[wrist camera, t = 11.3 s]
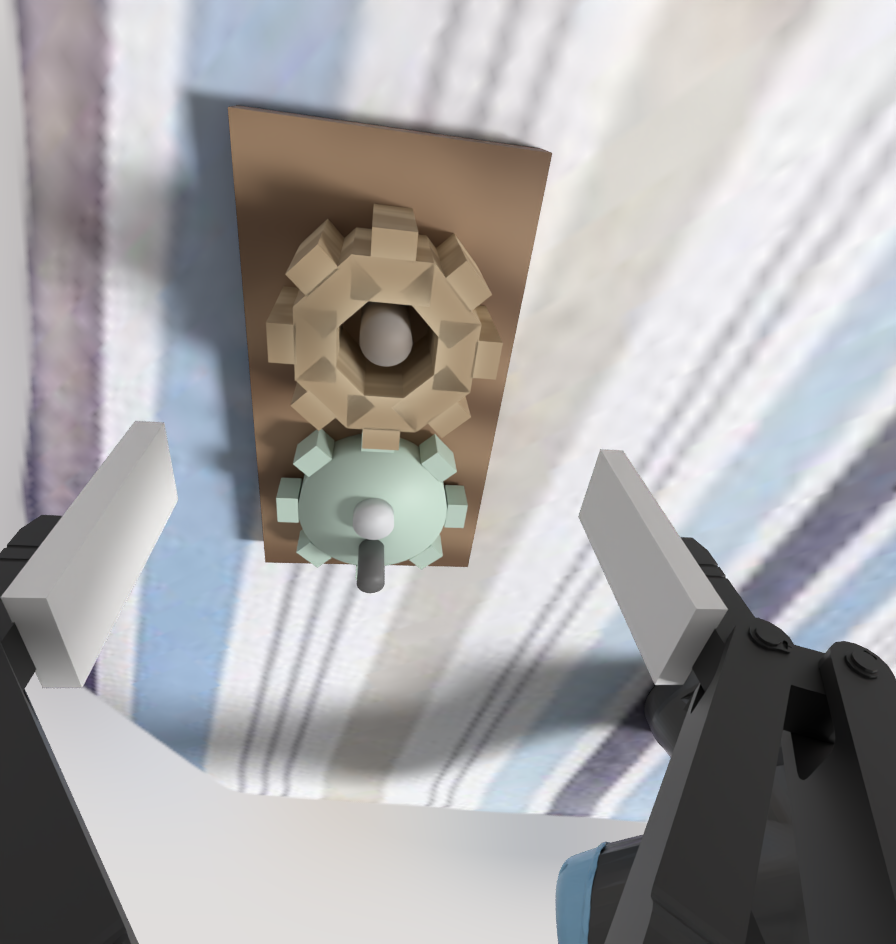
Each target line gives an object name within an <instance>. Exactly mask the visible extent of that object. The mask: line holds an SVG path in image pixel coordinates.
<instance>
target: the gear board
mask: <svg viewBox="0 0 896 944" xmlns="http://www.w3.org/2000/svg"><path fill="white" fill-rule="evenodd" d="M228 116H229V128H230V140H231V153H232V165H233V177H234V189H235V201H236V213H237V225H238V237H239V249H240V261H241V273H242V285H243V297H244V309H245V321H246V333H247V345H248V357H249V370H250V382H251V394H252V406H253V418H254V430H255V442H256V454H257V466H258V478H259V490H260V502H261V514H262V526H263V538H264V550H265V562H272V563H310V562H309V561H308V560H306V559H305V558H303V557H302V556H301V555H299V554H298V553H296V551H297V546H298V540H299V535H300V531H301V530H302V529H303V528H302V526H301V523H300V520H299V523H295V522H278V519H277V503H276V497H277V493H278V489H279V485H280V481H281V478H302V483H303V479H304V475H305V474H304V473H303V472H302V471H301V470H300V469H298V468H297V467H296V466H295V465H294V464H293V461H294V457H295V453H296V448H297V444H299V443H300V442H301V441H303V440H304V439H305V438H306V437H308V436H309V435H310V434H311V433H313V432H314V431H315V430H316V428H315V427H314V426H313V425H312V424H310V423H309V422H308V421H307V420H306V419H305V418H304V417H303V416H301V415H300V414H299V413H298V412H297V411H296V410H295V409H294V408H292V407H291V406H290V405H291V402H292V398H293V394H294V391H295V387H296V384H297V381H295V367H294V364H283V363H270V362H268V346H267V330H266V321H267V319H268V317H269V315H270V313H271V311H272V309H273V307H274V305H275V303H276V301H277V299H278V297H279V295H280V292H281V290H282V288H283V286H284V287H294V288H298V287H297V286H296V285H295V284H294V283H293V282H292V281H291V280H290V279H289V278H288V277H287V276H286V272H287V270H288V268H289V266H290V264H291V262H292V260H293V258H294V256H295V254H296V252H297V250H298V248H299V246H300V244H301V243H302V242H303V241H304V240H305V239H306V238H307V237H309V236H310V235H311V234H312V233H313V232H314V231H315V230H316V229H317V228H318V227H319V226H320V225H321V224H322V223H324V222H325V221H326V220H327V219H329V220H330V222H331V223H332V224H333V225H334V226H335V228H336V229H337V230H338V231H339V232H340V233H341V235H342V236H343V237H344V238H345V237H346V236H347V235H348V234H350V233H351V232H352V231H353V230H354V229H355V228H356V227H357V228H366V229H372V221H373V207H374V204H379V205H388V206H396V207H404V208H412V209H413V212H414V216H415V220H416V224H417V229H418V234H419V235H426V236H427V237H428V238H429V240H430V241H431V242H432V244H433V245H434V246H435V248H437V247H438V246H439V245H441V244H442V243H443V242H444V241H445V240H446V239H448V238H449V237H450V236H451V235H452V234H455V235H456V237H457V238H458V239H459V241H460V242H461V244H462V245H463V246H464V248H465V249H466V250H467V252H468V253H469V255H470V256H471V257H472V259H473V260H474V261H475V263H476V265H477V267H478V268H479V270H480V272H481V274H482V276H483V278H484V280H485V282H486V284H487V286H488V288H489V290H490V292H491V294H492V295H491V296H490V297H489V298H487V299H486V300H485V301H484V302H482V303H481V304H480V305H481V306H486V308H487V310H488V312H489V314H490V316H491V318H492V320H493V323H494V325H495V327H496V329H497V331H498V333H499V336H500V338H501V340H502V342H503V345H502V350H501V355H500V361H499V366H498V371H497V376H496V380H495V379H481V378H473V379H472V385H471V391H470V393H469V394H468V395H466V400H467V404H468V408H469V411H470V415H471V418H469V419H468V420H467V421H465V422H464V423H462V424H461V425H460V426H458V427H457V428H455V429H454V430H453V431H451V432H450V433H448V434H447V435H446V436H444V437H443V438H441V437H440V436H439V435H438V434H437V432H436V431H435V430H434V429H433V428H432V427H431V426H430V425H429V424H427V425H425V426H424V427H422V428H421V429H420V430H418V431H417V432H402V431H400V438H402V439H405V440H408V441H410V442H412V443H414V444H415V445H417V446H418V447H419V445H420V444H421V443H423V442H424V441H426V440H427V439H428V438H430V437H431V436H433V435H434V434H436V436H437V437H438V438H439V439H440V440H441V441H442V442H443V443H444V444H445V445H446V446H447V447H448V448H449V449H450V450H451V451H452V452H453V454H454V459H455V465H456V470H457V472H456V473H455V474H453V475H452V476H450V477H449V478H447V479H446V480H444V481H443V483H444V489H445V485H458V486H464V489H465V494H466V499H467V504H468V507H467V512H466V518H465V523H464V528H446V527H444V526H443V528H442V531H441V532H440V534H439V535H440V537H441V545H442V553H443V556H442V557H441V558H439V559H438V560H436V561H434V562H433V563H431V564H430V565H428V566H453V567H468V563H469V558H470V553H471V548H472V544H473V539H474V534H475V529H476V524H477V519H478V514H479V509H480V504H481V499H482V495H483V490H484V485H485V480H486V475H487V470H488V465H489V460H490V455H491V450H492V446H493V441H494V436H495V431H496V426H497V421H498V416H499V411H500V406H501V402H502V397H503V392H504V387H505V382H506V377H507V372H508V367H509V362H510V357H511V353H512V348H513V343H514V338H515V333H516V328H517V323H518V318H519V313H520V308H521V304H522V299H523V294H524V289H525V284H526V279H527V274H528V269H529V264H530V259H531V255H532V250H533V245H534V240H535V235H536V230H537V225H538V220H539V215H540V210H541V206H542V201H543V196H544V191H545V186H546V181H547V176H548V171H549V166H550V161H551V157H552V153H551V152H548V151H546V150H543V149H540V148H533V147H526V146H519V145H512V144H505V143H498V142H491V141H484V140H477V139H470V138H463V137H456V136H449V135H442V134H435V133H428V132H421V131H414V130H407V129H400V128H393V127H386V126H379V125H372V124H365V123H358V122H351V121H344V120H337V119H330V118H323V117H316V116H309V115H302V114H295V113H288V112H281V111H274V110H267V109H260V108H253V107H246V106H239V105H237V106H231V107H228ZM343 328H344V329H345V330H346V331H347V332H348V333H349V334H350V335H351V337H352V338H353V339H354V340H355V341H356V342H357V343H358V344H359V345H360V348H361V350H362V353H363V354H364V356H365V357H366V358H367V359H368V360H369V361H371V362H372V363H374V364H376V365H379V366H394V365H397V364H399V363H401V362H402V361H404V360H405V359H406V358H407V356H408V355H409V353H410V351H411V348H412V346H413V345H414V344H415V343H417V342H418V341H419V340H420V339H422V338H423V337H424V336H425V335H427V328H428V324H427V323H426V321H425V320H424V319H423V318H422V317H421V315H420V314H419V313H418V312H417V311H416V309H415V308H414V307H413V306H412V305H403V304H393V303H382V302H372V301H368V302H367V303H366V304H365V305H363V306H362V307H361V308H360V309H359V310H357V311H356V312H355V313H354V314H353V315H352V316H350V317H349V318H348V319H347V320H346V321H345V322H343ZM322 430H324V431H325V432H326V433H327V434H328V435H329V436H330V437H331V438H332V439H334V440H335V441H334V442H336V441H338V440H340V439H343V438H346V437H349V436H353V435H358V434H362V429H351V428H346V427H345V426H344V425H343V424H342V423H341V422H340V421H338V420H337V419H336V418H335V419H333V420H332V421H331V422H330V423H328V424H327V425H326V426H324V427H323V428H322ZM323 564H349V563H345V562H342V561H339V560H337V559H334V558H332V557H331V559H329V560H328V561H326V562H325V563H323ZM392 565H408V566H416V565H415V564H414V563H412V562H411V561H410V559H408V560H406V561H403V562H400V563H396V564H392Z"/></svg>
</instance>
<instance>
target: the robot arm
mask: <svg viewBox="0 0 896 944" xmlns="http://www.w3.org/2000/svg"><path fill="white" fill-rule="evenodd" d="M177 501H178V496H177V490H176V485H175V480H174V474H173V469H172V463H171V458H170V452H169V447H168V441H167V436H166V430H165V425H164V423H161V422H145V421H135V422H134V423H133V425H132V426H131V427H130V428H129V430H128V431H127V432H126V434H125V435H124V436H123V438H122V439H121V440H120V442H119V443H118V444H117V445H116V447H115V448H114V449H113V451H112V452H111V453H110V455H109V456H108V457H107V459H106V460H105V461H104V463H103V464H102V465H101V466H100V468H99V469H98V470H97V472H96V473H95V474H94V476H93V477H92V478H91V480H90V481H89V482H88V483H87V485H86V486H85V487H84V489H83V490H82V491H81V493H80V494H79V495H78V497H77V498H76V499H75V501H74V502H73V503H72V504H71V506H70V507H69V508H68V510H67V511H66V512H65V514H64V515H63V516H54V515H41V516H40V517H38V518H36V519H35V520H33V521H32V522H30V523H29V524H27V525H26V526H24V527H23V528H21V529H20V530H19V531H18V532H17V534H16V535H15V536H14V537H13V538H12V540H11V541H10V542H9V543H8V544H7V548H4V549H3V550H2V551H1V553H0V944H139V943H138V941H137V939H136V937H135V935H134V932H133V930H132V928H131V926H130V923H129V921H128V919H127V917H126V914H125V912H124V910H123V908H122V905H121V903H120V901H119V899H118V897H117V894H116V892H115V890H114V887H113V885H112V883H111V881H110V879H109V876H108V874H107V872H106V870H105V867H104V865H103V863H102V861H101V858H100V856H99V854H98V852H97V849H96V847H95V845H94V843H93V841H92V838H91V836H90V834H89V832H88V829H87V827H86V825H85V823H84V820H83V818H82V816H81V814H80V811H79V809H78V807H77V805H76V803H75V801H74V798H73V796H72V794H71V791H70V789H69V787H68V785H67V782H66V780H65V778H64V776H63V773H62V772H61V769H60V767H59V764H58V762H57V760H56V758H55V756H54V753H53V751H52V749H51V747H50V744H49V742H48V740H47V738H46V735H45V733H44V731H43V729H42V726H41V724H40V722H39V720H38V717H37V715H36V713H35V711H34V708H33V706H32V704H31V702H30V700H29V697H28V695H27V693H26V691H25V687H26V685H27V683H28V682H29V680H30V679H31V677H32V676H33V674H34V672H36V675H37V677H38V679H39V681H40V683H41V685H42V688H82V687H83V685H84V683H85V681H86V679H87V677H88V675H89V673H90V672H91V670H92V668H93V666H94V664H95V662H96V660H97V658H98V656H99V654H100V652H101V650H102V648H103V646H104V644H105V642H106V640H107V638H108V636H109V634H110V632H111V630H112V628H113V626H114V624H115V623H116V621H117V619H118V617H119V615H120V613H121V611H122V609H123V607H124V605H125V603H126V601H127V599H128V597H129V595H130V593H131V591H132V589H133V587H134V585H135V583H136V581H137V579H138V577H139V575H140V574H141V572H142V570H143V568H144V566H145V564H146V562H147V560H148V558H149V556H150V554H151V552H152V550H153V548H154V546H155V544H156V542H157V540H158V538H159V536H160V534H161V532H162V530H163V528H164V526H165V525H166V523H167V521H168V519H169V517H170V515H171V513H172V511H173V509H174V507H175V505H176V503H177ZM578 517H579V519H580V521H581V523H582V526H583V528H584V530H585V532H586V534H587V537H588V539H589V541H590V543H591V545H592V548H593V550H594V552H595V554H596V556H597V559H598V561H599V563H600V565H601V567H602V570H603V572H604V574H605V576H606V579H607V581H608V583H609V585H610V587H611V590H612V592H613V594H614V596H615V598H616V601H617V603H618V605H619V607H620V609H621V612H622V614H623V616H624V618H625V620H626V623H627V625H628V627H629V629H630V631H631V634H632V636H633V638H634V640H635V642H636V645H637V647H638V649H639V651H640V653H641V656H642V658H643V660H644V662H645V664H646V667H647V669H648V671H649V673H650V675H651V678H652V680H653V682H654V684H655V685H656V686H655V687H654V688H653V689H652V691H651V692H650V694H649V695H648V697H647V699H646V702H645V706H644V713H645V717H646V719H647V722H648V724H649V727H650V729H651V731H652V734H653V736H654V737H655V739H656V741H657V742H658V743H659V744H660V745H661V746H662V747H663V748H664V749H665V751H666V752H667V753H668V755H669V756H670V757H671V759H670V762H669V764H668V767H667V770H666V773H665V776H664V778H663V781H662V784H661V787H660V790H659V792H658V795H657V798H656V801H655V803H654V806H653V809H652V812H651V815H650V817H649V820H648V823H647V826H646V829H645V832H644V834H643V835H640V836H636V837H632V838H628V839H624V840H620V841H616V842H612V843H610V842H603V843H602V844H600V845H599V846H598V847H597V848H594V849H591V850H588V851H585V852H582V853H579V854H576V855H574V856H571V857H570V858H568V859H567V860H566V861H565V862H564V864H563V865H562V867H561V870H560V872H559V876H558V880H557V886H556V924H557V936H558V944H896V679H895V676H894V675H893V673H892V671H891V670H890V668H889V666H888V665H887V664H886V663H885V662H884V661H883V660H882V659H881V658H880V657H878V656H877V655H875V654H874V653H872V652H871V651H870V650H868V649H866V648H864V647H862V646H859V645H857V644H855V643H850V642H846V641H841V642H835V643H834V644H833V645H832V646H831V647H830V648H829V649H828V651H827V652H826V653H822V652H818V651H815V650H811V649H807V648H804V647H800V646H796V645H794V644H793V642H792V641H791V639H790V637H789V636H788V635H786V634H785V633H784V632H783V631H782V630H781V629H780V628H778V627H777V626H775V625H773V624H772V623H770V622H768V621H765V620H762V619H760V618H755V617H754V615H753V614H752V613H751V611H750V610H749V608H748V607H747V606H746V604H745V603H744V601H743V600H742V598H741V597H740V596H739V594H738V593H737V591H736V590H735V588H734V587H733V586H732V584H731V583H730V581H729V580H728V579H726V578H725V574H724V573H723V571H722V570H721V569H720V567H718V566H717V565H718V564H717V563H716V561H715V560H714V559H713V557H712V556H711V554H710V553H709V551H708V550H707V549H705V548H704V547H703V546H702V545H701V544H699V543H698V542H697V541H696V540H694V539H693V538H684V537H680V536H679V535H678V533H677V532H676V530H675V529H674V527H673V526H672V524H671V523H670V521H669V520H668V518H667V516H666V515H665V513H664V512H663V510H662V509H661V507H660V506H659V504H658V503H657V501H656V500H655V498H654V497H653V495H652V494H651V492H650V491H649V489H648V488H647V486H646V485H645V483H644V482H643V480H642V479H641V477H640V476H639V474H638V473H637V471H636V470H635V468H634V467H633V465H632V464H631V462H630V461H629V459H628V458H627V456H626V455H625V453H624V452H623V451H620V450H604V449H600V452H599V455H598V458H597V461H596V464H595V467H594V470H593V473H592V476H591V479H590V482H589V485H588V489H587V492H586V495H585V498H584V501H583V504H582V507H581V510H580V513H579V516H578Z"/></svg>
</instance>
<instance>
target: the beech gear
mask: <svg viewBox="0 0 896 944" xmlns="http://www.w3.org/2000/svg"><path fill="white" fill-rule="evenodd" d="M286 276H287V277H288V278H289V279H290V280H291V281H292V282H293V283H294V284H295V285H296V286H297V287H298V288H294V287H284V286H283V288H282V290H281V292H280V295H279V297H278V299H277V301H276V303H275V305H274V307H273V309H272V311H271V313H270V315H269V317H268V319H267V321H266V330H267V346H268V362H270V363H283V364H294V367H295V381H297V384H296V387H295V391H294V394H293V398H292V402H291V405H290V406H291V407H292V408H294V409H295V410H296V411H297V412H298V413H299V414H300V415H301V416H303V417H304V418H305V419H306V420H307V421H308V422H309V423H310V424H312V425H313V426H314V427H315V428H316V429H317V430H318V431H319V430H321V429H322V428H323V427H324V426H326V425H327V424H328V423H330V422H331V421H332V420H333V419H335V418H336V419H337V420H338V421H340V422H341V423H342V424H343V425H344V426H345V427H346V428H351V429H363V436H362V448H363V449H381V450H399V440H400V431H402V432H417V431H418V430H420V429H421V428H422V427H424V426H425V425H427V424H429V425H430V426H431V427H432V428H433V429H434V430H435V431H436V432H437V434H438V435H439V436H440V437H441V438H443V437H444V436H446V435H447V434H448V433H450V432H451V431H453V430H454V429H455V428H457V427H458V426H460V425H461V424H462V423H464V422H465V421H467V420H468V419H469V418H471V415H470V411H469V408H468V404H467V400H466V395H468V394H469V393H470V391H471V385H472V379H473V378H481V379H495V380H496V376H497V371H498V366H499V361H500V355H501V350H502V345H503V342H502V340H501V338H500V336H499V333H498V331H497V329H496V327H495V325H494V323H493V320H492V318H491V316H490V314H489V312H488V310H487V308H486V306H481V305H480V304H481V303H482V302H484V301H485V300H486V299H487V298H489V297H490V296H491V295H492V294H491V292H490V290H489V288H488V286H487V284H486V282H485V280H484V278H483V276H482V274H481V272H480V270H479V268H478V267H477V265H476V263H475V261H474V260H473V259H472V257H471V256H470V255H469V253H468V252H467V250H466V249H465V248H464V246H463V245H462V244H461V242H460V241H459V239H458V238H457V237H456V235H455V234H452V235H451V236H450V237H449V238H448V239H446V240H445V241H444V242H443V243H442V244H441V245H439V246H438V247H437V248H435V246H434V245H433V244H432V242H431V241H430V240H429V238H428V237H427V236H426V235H419V234H418V229H417V224H416V220H415V216H414V212H413V209H412V208H404V207H396V206H388V205H379V204H374V207H373V221H372V229H366V228H357V227H356V228H355V229H354V230H353V231H352V232H351V233H350V234H348V235H347V236H346V237H345V238H344V237H343V236H342V235H341V233H340V232H339V231H338V230H337V229H336V228H335V226H334V225H333V224H332V223H331V222H330V220H329V219H327V220H326V221H325V222H324V223H322V224H321V225H320V226H319V227H318V228H317V229H316V230H315V231H314V232H313V233H312V234H311V235H310V236H309V237H307V238H306V239H305V240H304V241H303V242H302V243H301V244H300V246H299V248H298V250H297V252H296V254H295V256H294V258H293V260H292V262H291V264H290V266H289V268H288V270H287V272H286ZM368 301H372V302H382V303H393V304H403V305H412V306H413V307H414V308H415V309H416V311H417V312H418V313H419V314H420V315H421V317H422V318H423V319H424V320H425V321H426V323H427V324H428V328H427V335H425V336H424V337H423V338H422V339H420V340H419V341H418V342H417V343H415V344H414V345H413V346H412V348H411V351H410V353H409V355H408V356H407V358H406V359H405V360H404V361H402V362H401V363H399V364H397V365H394V366H379V365H376V364H374V363H372V362H371V361H369V360H368V359H367V358H366V357H365V356H364V354H363V353H362V350H361V348H360V345H359V344H358V343H357V342H356V341H355V340H354V339H353V338H352V337H351V335H350V334H349V333H348V332H347V331H346V330H345V329H344V328H343V322H345V321H346V320H347V319H348V318H349V317H350V316H352V315H353V314H354V313H355V312H356V311H357V310H359V309H360V308H361V307H362V306H363V305H365V304H366V303H367V302H368Z"/></svg>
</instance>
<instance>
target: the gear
mask: <svg viewBox="0 0 896 944" xmlns="http://www.w3.org/2000/svg"><path fill="white" fill-rule="evenodd" d="M362 436H363V429H362V434H358V435H353V436H349V437H346V438H343V439H340V440H338V441H336V442H334V441H335V440H334V439H332V438H331V437H330V436H329V435H328V434H327V433H326V432H325V431H324V430H322V429H321V430H319V431H318V430H317V429H316V430H315V431H314V432H313V433H311V434H310V435H309V436H308V437H306V438H305V439H304V440H303V441H301V442H300V443H299V444H297V448H296V453H295V457H294V461H293V464H294V465H295V466H296V467H297V468H298V469H300V470H301V471H302V472H303V473H304V474H305V475H304V479H303V483H302V478H281V481H280V485H279V489H278V493H277V497H276V503H277V519H278V522H295V523H299V520H300V523H301V526H302V528H303V529H302V530H301V531H300V535H299V540H298V546H297V551H296V553H298V554H299V555H301V556H302V557H303V558H305V559H306V560H308V561H309V562H310V563H312V564H313V565H314V566H316V567H317V568H318V567H319V566H321V565H322V564H323V563H325V562H326V561H328V560H329V559H331V557H332V558H334V559H337V560H339V561H342V562H345V563H349V564H353V565H356V579H357V587H358V588H359V589H360V590H361V591H363V592H366V593H375V592H378V591H380V590H381V589H382V588H383V587H384V566H386V565H392V564H396V563H400V562H403V561H406V560H408V559H410V561H411V562H412V563H414V564H415V565H416V566H417V567H419V568H420V569H421V570H422V569H423V568H425V567H427V566H428V565H430V564H431V563H433V562H434V561H436V560H438V559H439V558H441V557H442V556H443V553H442V545H441V537H440V535H439V534H440V532H441V531H442V528H443V526H444V527H446V528H464V523H465V518H466V512H467V507H468V504H467V499H466V494H465V489H464V486H458V485H445V489H444V483H443V481H444V480H446V479H447V478H449V477H450V476H452V475H453V474H455V473H456V472H457V470H456V465H455V459H454V454H453V452H452V451H451V450H450V449H449V448H448V447H447V446H446V445H445V444H444V443H443V442H442V441H441V440H440V439H439V438H438V437H437V436H436V434H434V435H433V436H431V437H430V438H428V439H427V440H426V441H424V442H423V443H421V444H420V445H419V447H418V446H417V445H415V444H414V443H412V442H410V441H408V440H405V439H402V438H400V440H399V450H381V449H363V448H362Z"/></svg>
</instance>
